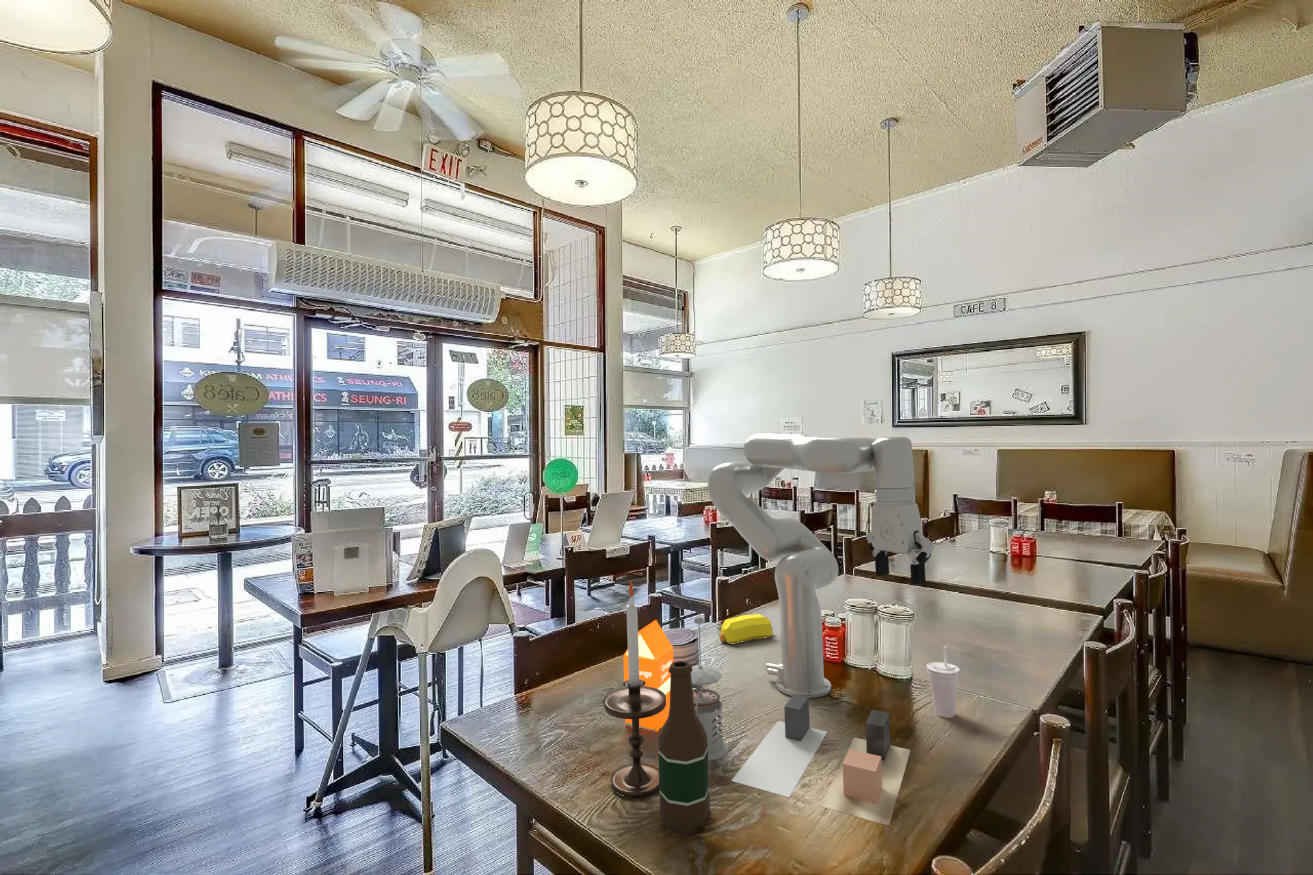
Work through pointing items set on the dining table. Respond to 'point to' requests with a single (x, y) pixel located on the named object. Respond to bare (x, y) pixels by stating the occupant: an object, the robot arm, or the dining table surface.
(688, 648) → the can
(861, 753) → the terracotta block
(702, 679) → the french press
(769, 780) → the grey strip
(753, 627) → the yellow rounded bar
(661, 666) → the orange juice
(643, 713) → the candlestick
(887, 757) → the maple strip
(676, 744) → the beer bottle
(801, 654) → the robot arm
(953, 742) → the dining table surface
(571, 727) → the dining table surface
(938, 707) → the smoothie
